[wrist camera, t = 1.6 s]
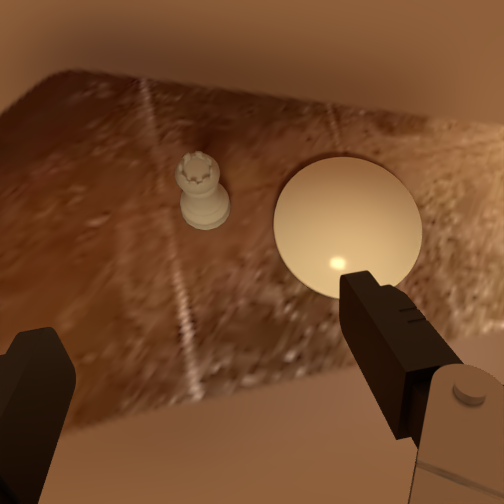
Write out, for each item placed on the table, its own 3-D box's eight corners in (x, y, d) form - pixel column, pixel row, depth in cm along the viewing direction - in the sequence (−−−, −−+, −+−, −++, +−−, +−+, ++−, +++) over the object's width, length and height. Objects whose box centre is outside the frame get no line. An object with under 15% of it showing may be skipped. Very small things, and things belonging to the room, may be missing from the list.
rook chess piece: (192, 178, 34) (177, 130, 27) (237, 193, 34) (236, 149, 26) (173, 222, 33) (153, 185, 26) (220, 238, 33) (214, 205, 25)
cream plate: (289, 312, 32) (290, 311, 31) (260, 173, 35) (261, 168, 34) (434, 286, 33) (440, 284, 32) (394, 152, 36) (399, 147, 35)
